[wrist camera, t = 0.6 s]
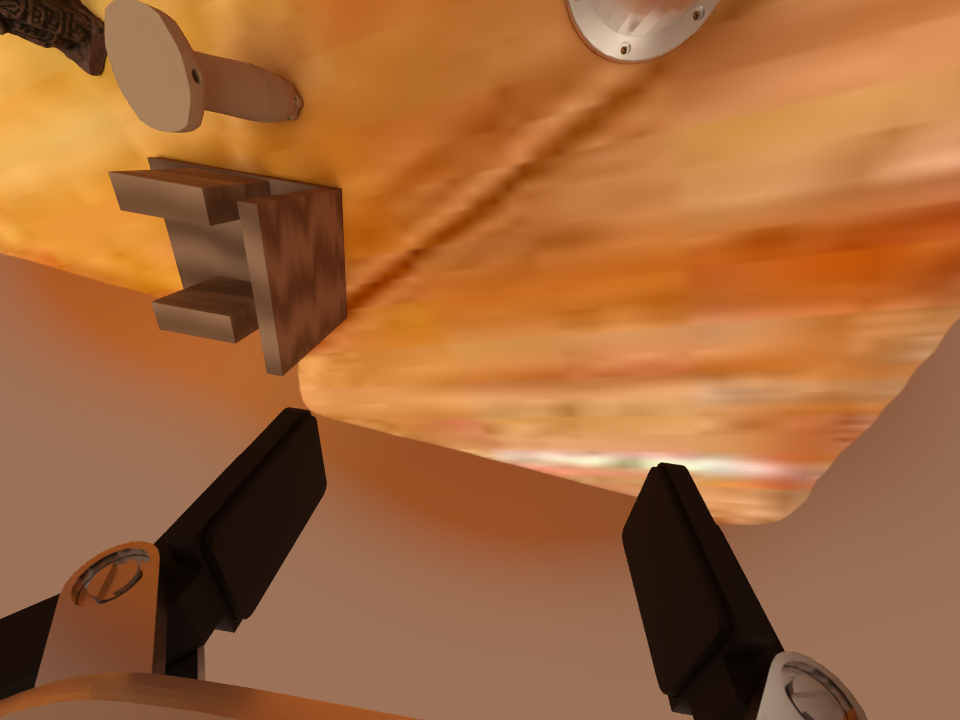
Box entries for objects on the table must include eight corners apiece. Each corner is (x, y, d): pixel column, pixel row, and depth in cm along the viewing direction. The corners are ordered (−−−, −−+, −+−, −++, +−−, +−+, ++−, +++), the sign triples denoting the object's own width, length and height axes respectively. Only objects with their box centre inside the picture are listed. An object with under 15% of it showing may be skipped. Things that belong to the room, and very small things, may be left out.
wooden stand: (160, 157, 39) (-6, 158, 27) (341, 189, 39) (256, 204, 26) (194, 290, 47) (77, 337, 34) (346, 318, 46) (282, 376, 34)
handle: (270, 137, 37) (131, 128, 24) (257, 56, 34) (88, -5, 21) (316, 142, 37) (201, 135, 24) (307, 61, 34) (168, 2, 21)
